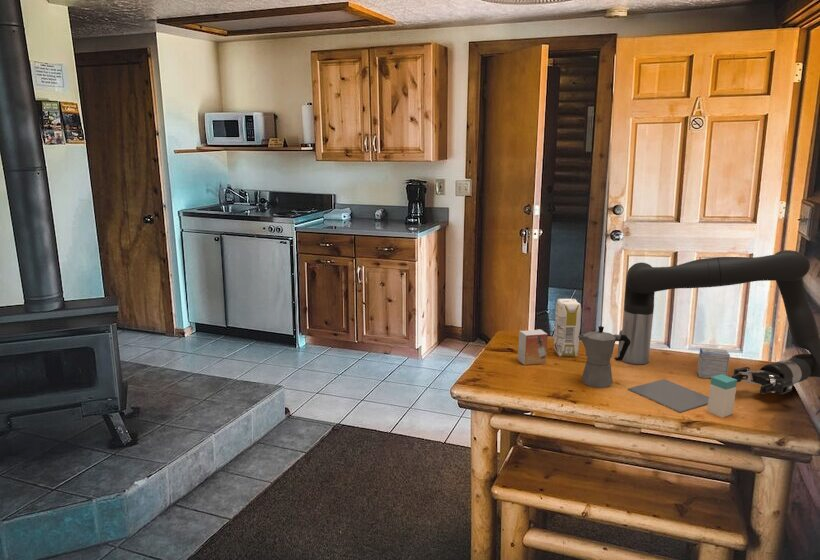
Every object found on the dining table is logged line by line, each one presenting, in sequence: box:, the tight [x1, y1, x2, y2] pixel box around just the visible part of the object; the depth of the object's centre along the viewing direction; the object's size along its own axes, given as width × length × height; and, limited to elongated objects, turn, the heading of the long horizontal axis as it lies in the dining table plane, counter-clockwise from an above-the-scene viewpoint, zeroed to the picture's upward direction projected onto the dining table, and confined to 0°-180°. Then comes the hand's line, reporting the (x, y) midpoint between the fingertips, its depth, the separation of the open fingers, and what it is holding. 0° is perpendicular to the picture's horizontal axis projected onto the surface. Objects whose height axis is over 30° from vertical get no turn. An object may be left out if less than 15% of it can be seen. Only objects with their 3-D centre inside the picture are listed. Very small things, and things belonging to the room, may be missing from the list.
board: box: [627, 378, 709, 414], centre depth 176 cm, size 18×16×1 cm
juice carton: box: [553, 298, 582, 358], centre depth 209 cm, size 8×9×19 cm
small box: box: [517, 328, 549, 366], centre depth 201 cm, size 8×6×10 cm
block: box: [706, 374, 738, 418], centre depth 164 cm, size 4×4×10 cm
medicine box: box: [697, 347, 731, 379], centre depth 190 cm, size 8×4×9 cm, turn 74°
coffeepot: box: [578, 325, 630, 389], centre depth 183 cm, size 15×9×18 cm, turn 82°
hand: (746, 384), depth 169 cm, fingers open, 8 cm apart
